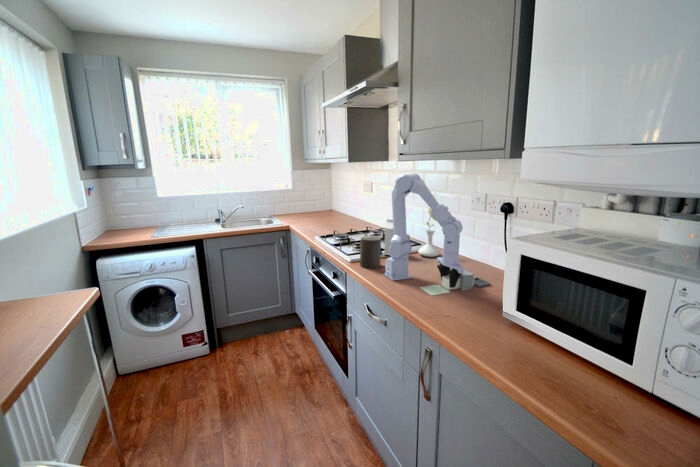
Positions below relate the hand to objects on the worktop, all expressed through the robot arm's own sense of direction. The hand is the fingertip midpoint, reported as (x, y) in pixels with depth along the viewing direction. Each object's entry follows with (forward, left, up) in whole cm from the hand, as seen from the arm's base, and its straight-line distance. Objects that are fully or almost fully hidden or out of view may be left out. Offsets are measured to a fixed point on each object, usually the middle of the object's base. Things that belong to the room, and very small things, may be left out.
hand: (448, 284), depth 126 cm
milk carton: (0, +48, -2) cm, 48 cm away
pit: (+14, 0, -1) cm, 15 cm away
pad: (-6, 0, -1) cm, 6 cm away
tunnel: (+6, 0, -1) cm, 6 cm away
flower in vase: (+18, +41, -2) cm, 45 cm away
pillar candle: (-18, +36, -2) cm, 40 cm away
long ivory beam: (+4, 0, -1) cm, 5 cm away
